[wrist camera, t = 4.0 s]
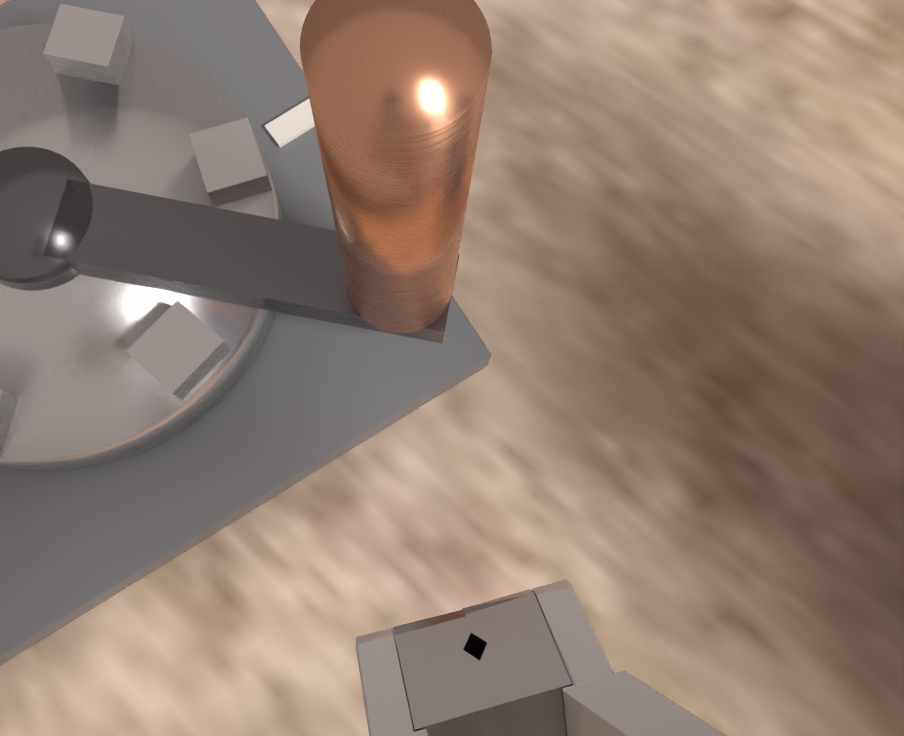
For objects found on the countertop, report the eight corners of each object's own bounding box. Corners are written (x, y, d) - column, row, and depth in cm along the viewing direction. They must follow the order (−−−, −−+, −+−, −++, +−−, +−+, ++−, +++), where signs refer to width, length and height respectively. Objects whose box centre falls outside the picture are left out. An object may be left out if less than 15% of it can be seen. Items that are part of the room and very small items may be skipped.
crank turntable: (-221, 425, 25) (-1024, 236, 11) (-69, 35, 29) (-533, -492, 15) (405, 542, 26) (404, 506, 11) (481, 141, 29) (556, -277, 15)
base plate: (487, 365, 29) (491, 352, 27) (-58, 700, 25) (-90, 709, 24) (206, -58, 32) (196, -91, 31) (-306, 186, 29) (-350, 163, 27)
